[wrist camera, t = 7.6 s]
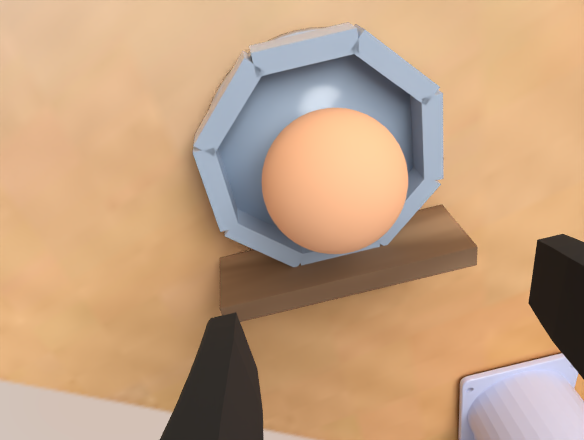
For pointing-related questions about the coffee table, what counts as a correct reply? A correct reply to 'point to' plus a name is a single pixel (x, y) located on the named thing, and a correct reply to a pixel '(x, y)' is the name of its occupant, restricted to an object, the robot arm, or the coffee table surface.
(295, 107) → the dish
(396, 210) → the ball
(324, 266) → the wooden block
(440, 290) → the coffee table surface
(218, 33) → the coffee table surface
